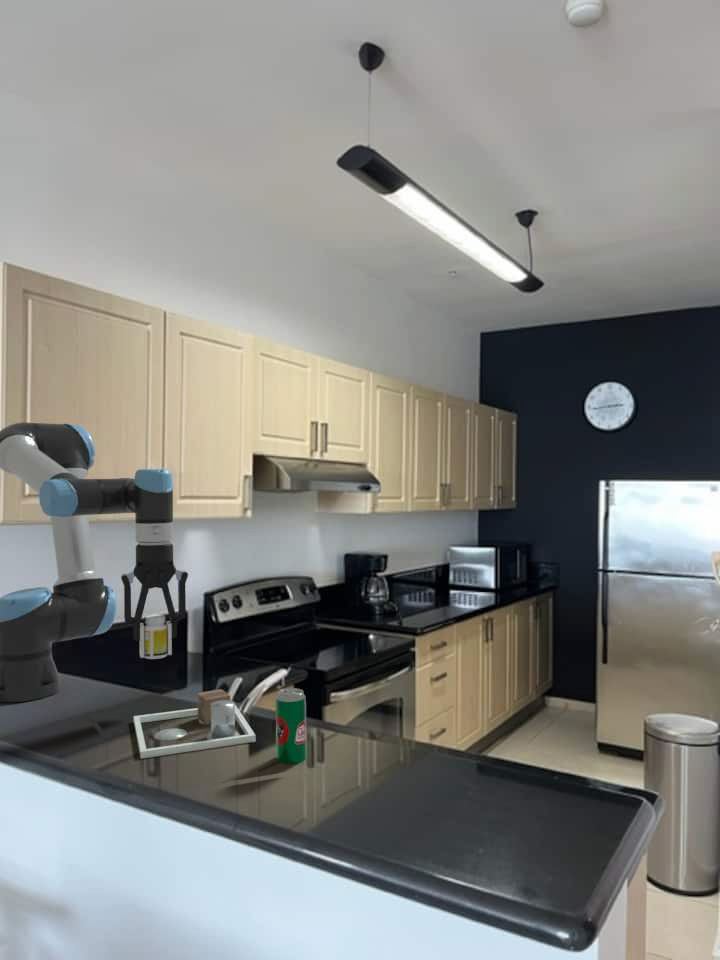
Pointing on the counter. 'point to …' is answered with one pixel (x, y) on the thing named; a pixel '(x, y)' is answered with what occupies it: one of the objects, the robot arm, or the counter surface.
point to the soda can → (291, 726)
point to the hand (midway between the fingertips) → (155, 654)
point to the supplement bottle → (155, 637)
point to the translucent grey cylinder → (222, 719)
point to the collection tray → (178, 733)
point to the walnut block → (209, 703)
